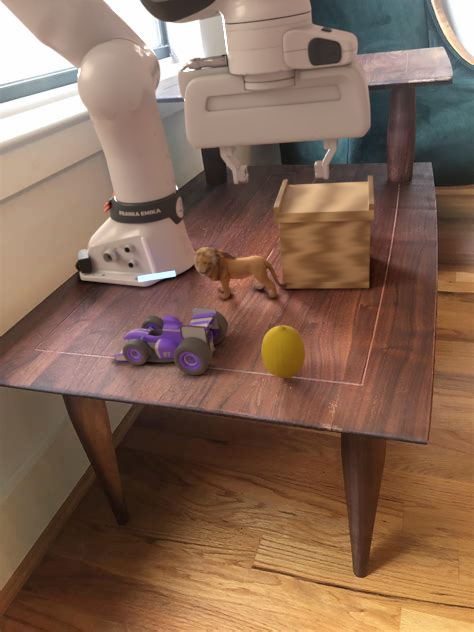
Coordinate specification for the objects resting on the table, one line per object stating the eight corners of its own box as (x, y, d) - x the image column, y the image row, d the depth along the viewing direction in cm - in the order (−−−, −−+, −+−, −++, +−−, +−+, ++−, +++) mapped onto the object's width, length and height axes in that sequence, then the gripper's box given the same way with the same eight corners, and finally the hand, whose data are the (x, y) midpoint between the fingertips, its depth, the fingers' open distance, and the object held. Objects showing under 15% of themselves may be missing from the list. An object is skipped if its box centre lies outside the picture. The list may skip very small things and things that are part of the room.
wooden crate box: (280, 290, 91) (273, 207, 84) (288, 255, 102) (283, 179, 94) (372, 290, 88) (374, 203, 80) (371, 254, 99) (372, 175, 91)
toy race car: (139, 330, 85) (130, 294, 82) (230, 337, 81) (225, 299, 77) (110, 367, 78) (99, 329, 74) (209, 377, 73) (202, 337, 70)
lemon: (271, 361, 75) (267, 312, 70) (311, 367, 73) (308, 316, 68) (258, 387, 70) (252, 335, 66) (299, 393, 68) (296, 341, 64)
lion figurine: (199, 305, 90) (190, 256, 85) (201, 289, 94) (193, 242, 90) (288, 297, 89) (284, 247, 84) (286, 281, 93) (282, 233, 89)
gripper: (165, 65, 56) (188, 194, 63) (369, 41, 51) (370, 185, 58) (183, 55, 61) (203, 176, 68) (371, 33, 56) (371, 166, 63)
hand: (281, 180), depth 63 cm, fingers open, 8 cm apart
